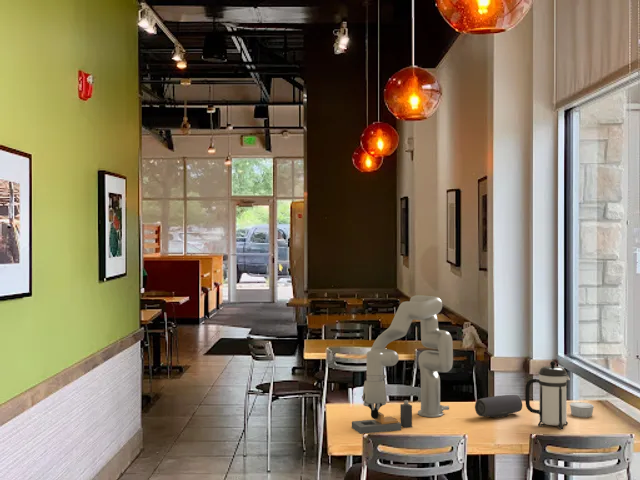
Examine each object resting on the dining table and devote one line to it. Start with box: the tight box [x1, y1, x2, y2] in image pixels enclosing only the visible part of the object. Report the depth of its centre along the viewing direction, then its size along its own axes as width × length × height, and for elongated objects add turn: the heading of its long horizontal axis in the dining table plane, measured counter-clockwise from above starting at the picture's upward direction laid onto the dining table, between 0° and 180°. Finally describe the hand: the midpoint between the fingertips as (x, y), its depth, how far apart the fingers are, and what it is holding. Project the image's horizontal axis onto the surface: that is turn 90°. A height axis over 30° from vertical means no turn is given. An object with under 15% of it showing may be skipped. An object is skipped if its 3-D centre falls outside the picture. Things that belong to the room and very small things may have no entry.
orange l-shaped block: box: [375, 411, 399, 424], centre depth 329 cm, size 8×8×4 cm
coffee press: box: [524, 361, 571, 431], centre depth 333 cm, size 17×16×30 cm
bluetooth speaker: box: [474, 394, 523, 418], centre depth 351 cm, size 23×9×10 cm, turn 115°
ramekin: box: [569, 401, 595, 418], centre depth 353 cm, size 11×11×5 cm
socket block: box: [351, 419, 402, 435], centre depth 328 cm, size 20×11×3 cm, turn 108°
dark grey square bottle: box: [399, 399, 413, 429], centre depth 332 cm, size 4×4×12 cm
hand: (374, 418), depth 327 cm, fingers closed
